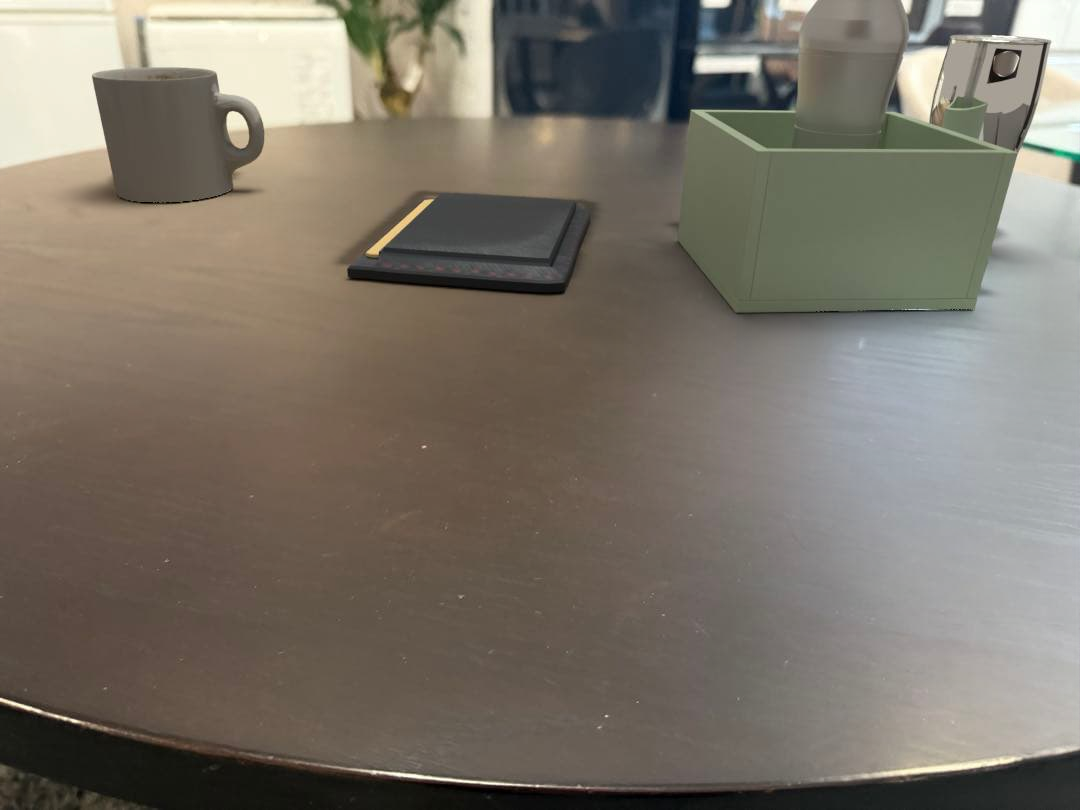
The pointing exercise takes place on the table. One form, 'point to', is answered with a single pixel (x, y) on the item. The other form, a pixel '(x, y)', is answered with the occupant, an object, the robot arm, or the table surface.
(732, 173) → the bin
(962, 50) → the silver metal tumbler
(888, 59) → the plastic bottle
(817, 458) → the table surface
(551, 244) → the wallet
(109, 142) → the coffee mug
